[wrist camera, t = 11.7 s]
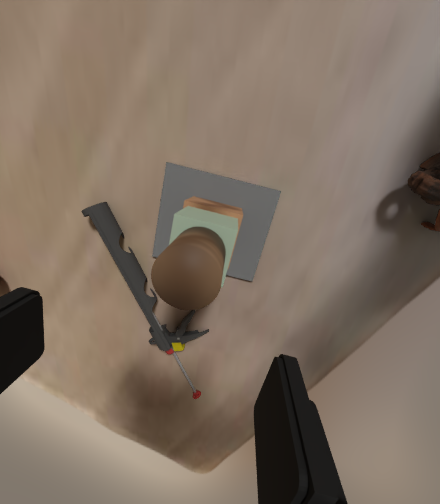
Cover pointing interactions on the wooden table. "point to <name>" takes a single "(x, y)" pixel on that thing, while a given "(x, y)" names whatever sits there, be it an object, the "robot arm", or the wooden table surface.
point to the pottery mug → (428, 186)
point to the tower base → (216, 210)
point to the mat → (227, 192)
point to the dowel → (190, 269)
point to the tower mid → (211, 220)
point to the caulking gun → (140, 285)
